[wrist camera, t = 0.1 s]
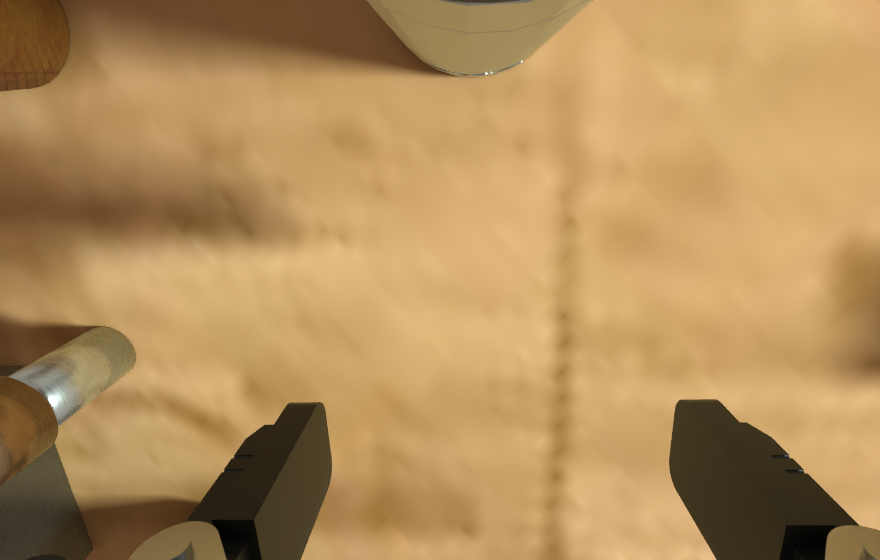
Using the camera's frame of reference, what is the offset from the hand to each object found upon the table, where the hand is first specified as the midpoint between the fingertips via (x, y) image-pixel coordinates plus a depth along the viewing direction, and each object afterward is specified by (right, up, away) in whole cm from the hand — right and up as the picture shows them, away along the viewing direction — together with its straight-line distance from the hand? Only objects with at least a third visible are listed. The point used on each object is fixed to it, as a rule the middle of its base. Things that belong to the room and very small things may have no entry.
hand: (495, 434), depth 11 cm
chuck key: (-23, -1, +20) cm, 30 cm away
